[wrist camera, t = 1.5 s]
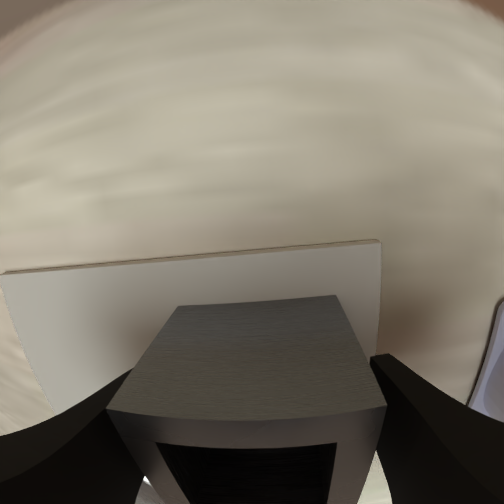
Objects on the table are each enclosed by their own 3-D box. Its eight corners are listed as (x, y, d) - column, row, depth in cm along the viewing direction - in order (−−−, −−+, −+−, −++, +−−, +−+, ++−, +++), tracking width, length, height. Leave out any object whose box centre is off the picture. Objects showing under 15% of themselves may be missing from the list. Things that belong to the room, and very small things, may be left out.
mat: (376, 239, 9) (381, 243, 8) (328, 541, 15) (329, 545, 15) (4, 272, 10) (-2, 275, 10) (157, 533, 17) (156, 537, 16)
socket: (335, 294, 9) (387, 404, 4) (331, 410, 10) (351, 517, 5) (178, 305, 9) (105, 408, 4) (205, 415, 10) (176, 517, 6)
